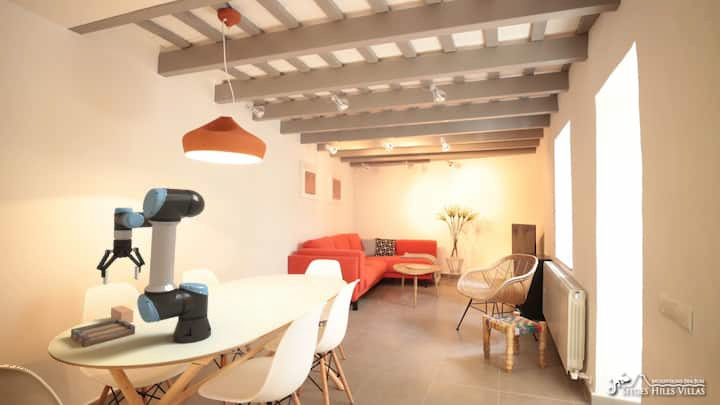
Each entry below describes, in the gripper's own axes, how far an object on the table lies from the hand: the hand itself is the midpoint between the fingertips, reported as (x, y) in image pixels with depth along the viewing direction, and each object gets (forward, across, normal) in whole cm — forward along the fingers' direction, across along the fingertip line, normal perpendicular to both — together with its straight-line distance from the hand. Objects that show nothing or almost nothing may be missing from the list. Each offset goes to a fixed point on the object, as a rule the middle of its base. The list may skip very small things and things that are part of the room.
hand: (121, 281), depth 168 cm
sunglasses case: (+19, 0, 0) cm, 19 cm away
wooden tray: (+19, +13, +16) cm, 28 cm away
